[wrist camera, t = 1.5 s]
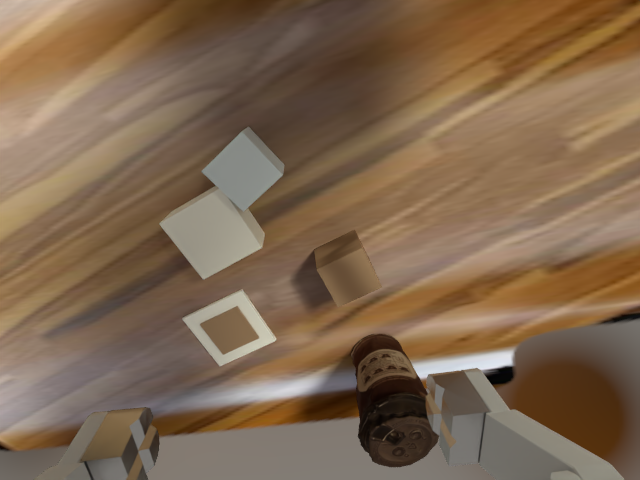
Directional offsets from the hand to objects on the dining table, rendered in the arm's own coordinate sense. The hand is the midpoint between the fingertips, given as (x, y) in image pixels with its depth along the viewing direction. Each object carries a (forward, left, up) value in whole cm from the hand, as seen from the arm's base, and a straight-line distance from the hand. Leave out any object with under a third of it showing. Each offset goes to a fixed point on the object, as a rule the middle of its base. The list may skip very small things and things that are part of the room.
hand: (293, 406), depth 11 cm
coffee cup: (+1, +24, -29) cm, 38 cm away
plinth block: (+9, 0, -29) cm, 30 cm away
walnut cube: (-1, +10, -29) cm, 31 cm away
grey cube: (+3, -4, -29) cm, 29 cm away
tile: (+15, +12, -29) cm, 35 cm away
